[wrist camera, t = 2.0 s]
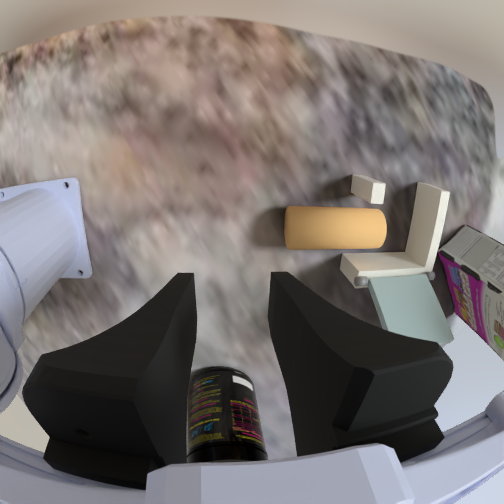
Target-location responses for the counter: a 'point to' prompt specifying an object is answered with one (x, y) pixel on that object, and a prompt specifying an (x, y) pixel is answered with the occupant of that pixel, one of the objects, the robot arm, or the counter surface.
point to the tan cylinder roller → (333, 228)
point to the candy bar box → (477, 283)
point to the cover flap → (410, 308)
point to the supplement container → (223, 418)
